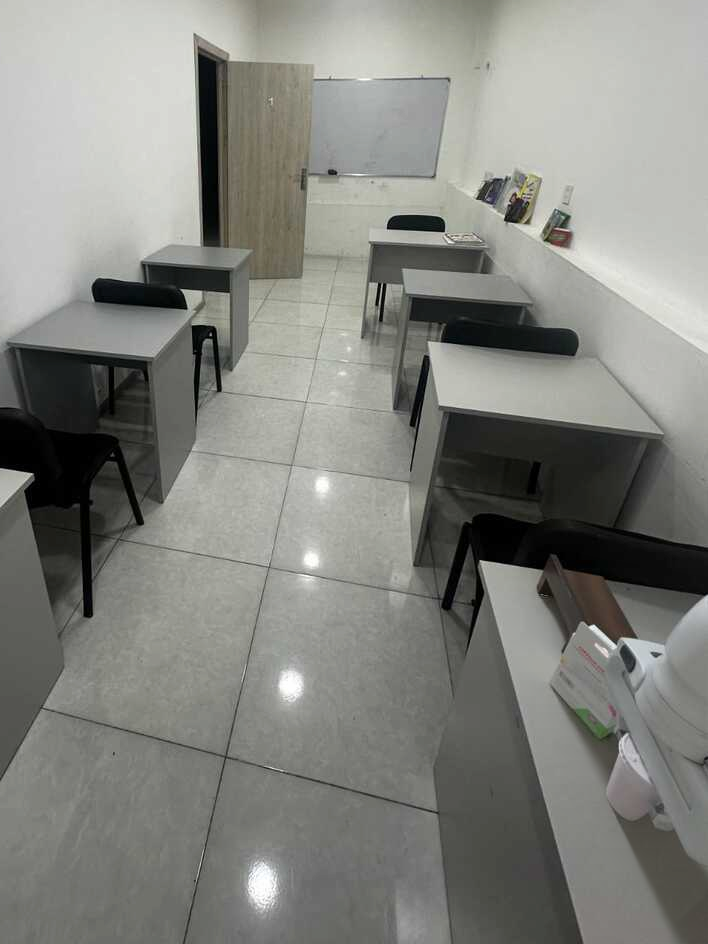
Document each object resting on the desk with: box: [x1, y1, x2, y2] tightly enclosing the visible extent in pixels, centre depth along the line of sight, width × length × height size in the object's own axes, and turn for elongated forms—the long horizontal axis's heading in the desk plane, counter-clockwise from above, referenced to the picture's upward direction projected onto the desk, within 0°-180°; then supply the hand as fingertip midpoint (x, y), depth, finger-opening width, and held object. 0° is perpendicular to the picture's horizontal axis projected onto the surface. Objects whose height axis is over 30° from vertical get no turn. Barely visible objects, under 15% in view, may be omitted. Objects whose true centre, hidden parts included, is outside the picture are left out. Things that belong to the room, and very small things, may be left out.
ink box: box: [549, 622, 617, 741], centre depth 70 cm, size 9×5×15 cm, turn 22°
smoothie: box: [605, 733, 663, 822], centre depth 60 cm, size 6×6×14 cm
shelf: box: [535, 553, 639, 655], centre depth 83 cm, size 10×14×9 cm
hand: (638, 778), depth 60 cm, fingers open, 7 cm apart
